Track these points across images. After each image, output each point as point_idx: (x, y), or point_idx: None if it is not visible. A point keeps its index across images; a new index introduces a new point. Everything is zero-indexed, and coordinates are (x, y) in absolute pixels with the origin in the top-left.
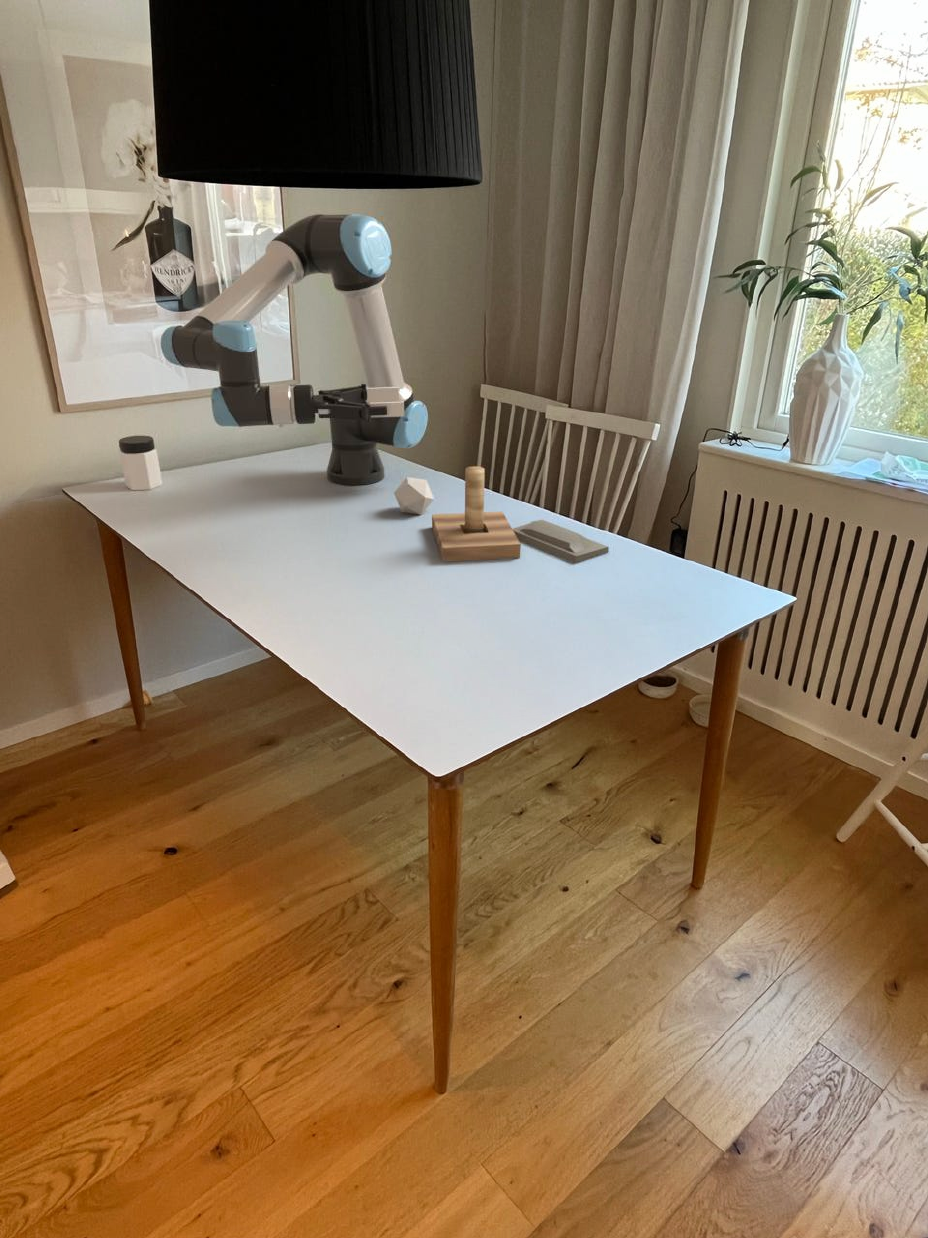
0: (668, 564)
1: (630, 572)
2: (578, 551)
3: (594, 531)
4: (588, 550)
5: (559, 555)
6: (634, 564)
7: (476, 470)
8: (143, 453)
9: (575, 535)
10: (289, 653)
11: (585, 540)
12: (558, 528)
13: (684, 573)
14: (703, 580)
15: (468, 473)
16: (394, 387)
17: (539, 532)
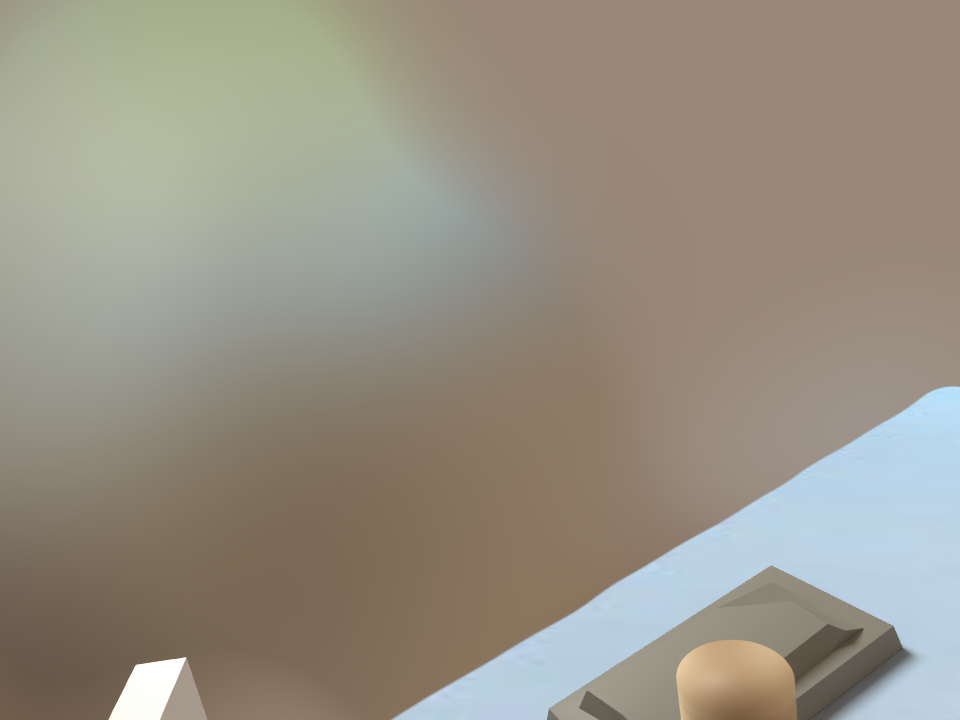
0: (826, 492)
1: (917, 547)
2: (845, 621)
3: (596, 602)
4: (828, 600)
5: (852, 679)
6: (851, 539)
7: (756, 670)
8: None
9: (749, 609)
10: None
11: (760, 598)
12: (685, 647)
13: (877, 474)
14: (909, 454)
15: (786, 713)
16: (154, 698)
17: None
